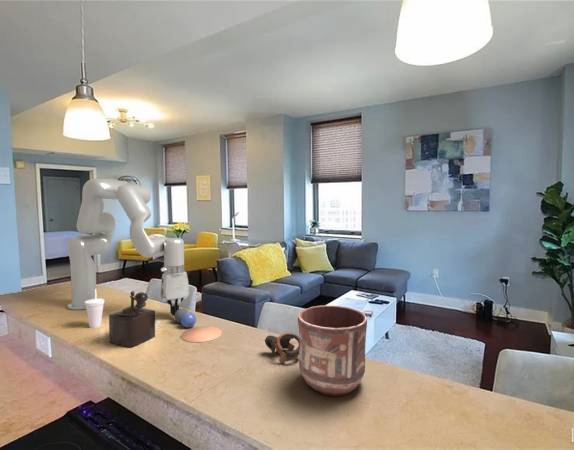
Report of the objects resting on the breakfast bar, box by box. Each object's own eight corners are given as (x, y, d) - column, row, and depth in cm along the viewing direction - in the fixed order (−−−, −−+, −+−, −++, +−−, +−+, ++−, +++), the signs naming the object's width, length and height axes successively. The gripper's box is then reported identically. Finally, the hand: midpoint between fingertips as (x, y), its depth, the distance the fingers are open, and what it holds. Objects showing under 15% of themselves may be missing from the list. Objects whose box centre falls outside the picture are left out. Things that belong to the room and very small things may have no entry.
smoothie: (108, 323, 125) (108, 287, 124) (97, 329, 118) (96, 291, 118) (93, 322, 125) (92, 286, 125) (81, 329, 119) (80, 291, 118)
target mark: (175, 332, 117) (175, 332, 116) (211, 324, 125) (211, 323, 125) (190, 346, 106) (190, 345, 106) (228, 335, 114) (228, 335, 114)
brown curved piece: (302, 351, 104) (307, 334, 99) (295, 377, 96) (299, 360, 92) (267, 339, 106) (270, 322, 101) (256, 363, 98) (259, 346, 94)
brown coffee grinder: (106, 343, 107) (105, 289, 106) (134, 331, 117) (133, 282, 116) (141, 352, 101) (140, 295, 100) (167, 339, 111) (166, 287, 110)
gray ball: (177, 307, 124) (181, 321, 122) (190, 305, 128) (193, 318, 126) (170, 312, 127) (173, 326, 125) (182, 310, 131) (185, 323, 129)
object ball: (178, 324, 123) (179, 311, 122) (192, 321, 126) (193, 308, 125) (183, 331, 119) (184, 317, 118) (198, 328, 122) (199, 315, 121)
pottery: (297, 365, 94) (298, 303, 93) (359, 367, 93) (361, 305, 92) (296, 402, 76) (296, 327, 75) (372, 406, 75) (374, 329, 74)
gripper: (159, 273, 121) (160, 321, 122) (196, 268, 132) (196, 312, 133) (151, 270, 127) (152, 316, 128) (187, 265, 137) (187, 308, 138)
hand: (174, 314), depth 130 cm, fingers closed
